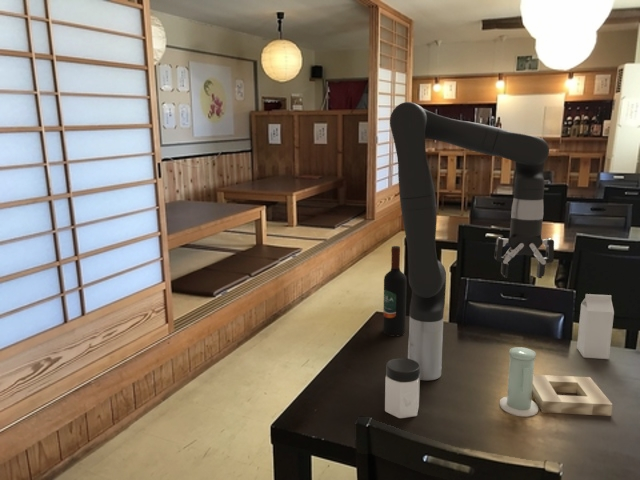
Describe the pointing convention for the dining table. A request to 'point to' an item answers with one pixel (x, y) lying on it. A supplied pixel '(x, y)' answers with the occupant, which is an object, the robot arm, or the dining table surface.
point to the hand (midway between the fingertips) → (521, 277)
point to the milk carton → (595, 326)
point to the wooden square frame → (584, 403)
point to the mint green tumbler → (520, 378)
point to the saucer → (522, 413)
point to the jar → (402, 387)
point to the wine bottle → (394, 297)
